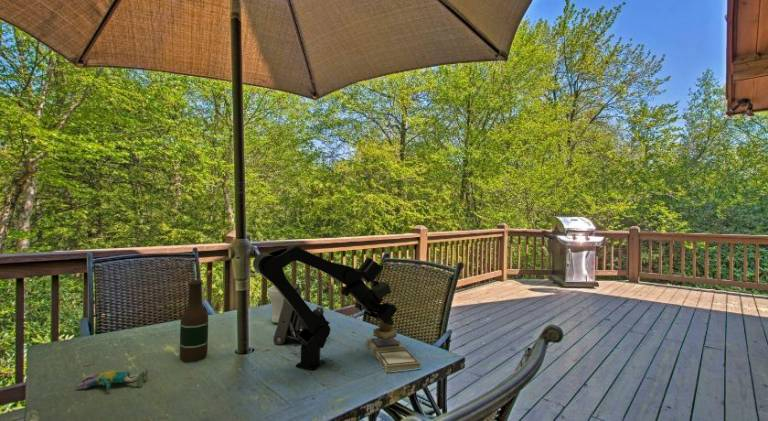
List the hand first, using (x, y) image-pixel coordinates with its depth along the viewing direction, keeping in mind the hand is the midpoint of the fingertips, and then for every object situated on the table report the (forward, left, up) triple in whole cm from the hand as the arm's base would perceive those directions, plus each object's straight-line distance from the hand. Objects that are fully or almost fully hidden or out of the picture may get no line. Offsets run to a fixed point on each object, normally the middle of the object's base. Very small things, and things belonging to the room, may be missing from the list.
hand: (389, 322), depth 129 cm
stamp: (-1, +1, -4) cm, 5 cm away
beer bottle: (-31, +54, -9) cm, 63 cm away
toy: (-53, +59, -9) cm, 79 cm away
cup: (+10, +50, -9) cm, 51 cm away
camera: (-5, +32, -9) cm, 33 cm away
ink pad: (-1, +1, -7) cm, 7 cm away
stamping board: (-6, -3, -9) cm, 11 cm away
